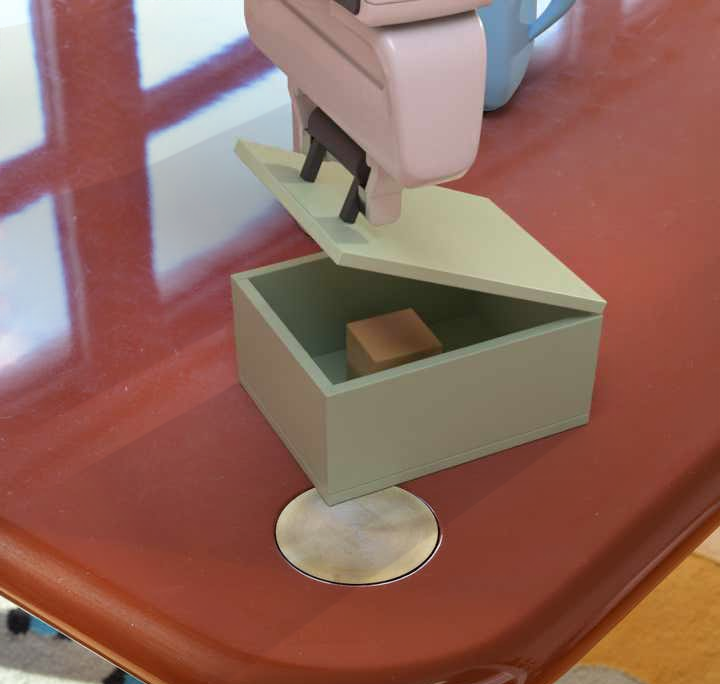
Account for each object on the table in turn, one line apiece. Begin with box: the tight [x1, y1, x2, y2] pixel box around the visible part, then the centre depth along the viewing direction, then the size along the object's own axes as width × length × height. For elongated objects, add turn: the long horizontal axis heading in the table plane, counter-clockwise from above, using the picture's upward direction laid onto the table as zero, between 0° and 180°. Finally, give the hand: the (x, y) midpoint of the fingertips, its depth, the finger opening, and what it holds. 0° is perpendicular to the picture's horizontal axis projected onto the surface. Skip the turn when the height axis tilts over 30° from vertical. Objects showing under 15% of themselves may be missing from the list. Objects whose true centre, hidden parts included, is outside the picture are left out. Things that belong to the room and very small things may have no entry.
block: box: [346, 308, 443, 381], centre depth 83 cm, size 4×4×4 cm
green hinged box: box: [230, 250, 604, 507], centre depth 82 cm, size 18×14×8 cm
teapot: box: [475, 0, 578, 112], centre depth 114 cm, size 18×16×14 cm
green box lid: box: [233, 106, 608, 315], centre depth 76 cm, size 18×14×5 cm
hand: (348, 187), depth 73 cm, fingers closed on green box lid, 6 cm apart
